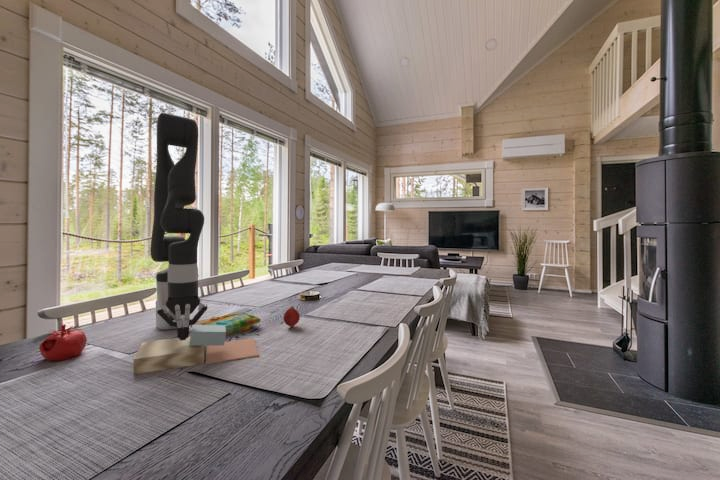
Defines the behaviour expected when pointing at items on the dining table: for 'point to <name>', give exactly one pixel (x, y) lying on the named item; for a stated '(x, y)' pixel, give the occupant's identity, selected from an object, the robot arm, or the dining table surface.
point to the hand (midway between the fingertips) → (183, 339)
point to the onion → (291, 317)
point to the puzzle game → (232, 322)
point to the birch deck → (167, 355)
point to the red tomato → (63, 344)
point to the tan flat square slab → (231, 351)
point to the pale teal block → (207, 335)
